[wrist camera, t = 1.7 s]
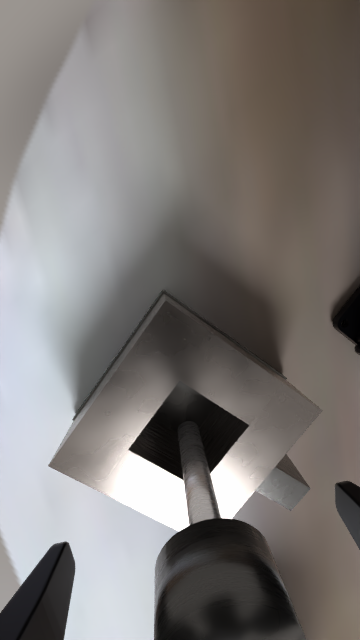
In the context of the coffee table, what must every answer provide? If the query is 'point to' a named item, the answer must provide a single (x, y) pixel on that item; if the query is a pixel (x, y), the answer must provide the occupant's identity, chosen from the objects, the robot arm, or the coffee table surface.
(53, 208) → the coffee table surface
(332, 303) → the coffee table surface
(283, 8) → the coffee table surface
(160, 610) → the plunger
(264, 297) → the coffee table surface
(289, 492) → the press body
